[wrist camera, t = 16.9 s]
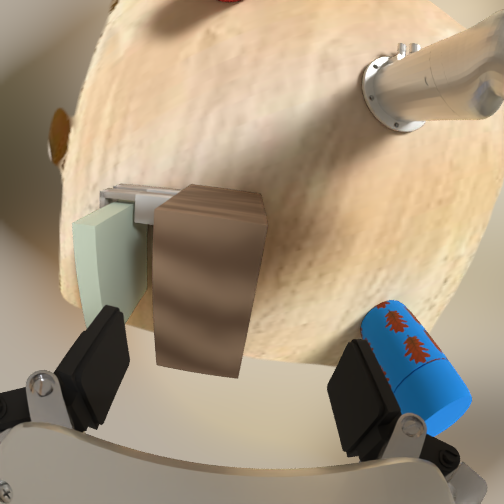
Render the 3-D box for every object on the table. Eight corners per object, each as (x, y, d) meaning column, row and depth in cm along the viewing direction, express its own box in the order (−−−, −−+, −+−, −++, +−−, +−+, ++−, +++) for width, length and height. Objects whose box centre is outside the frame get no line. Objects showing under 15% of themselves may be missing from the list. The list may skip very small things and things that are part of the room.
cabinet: (122, 177, 37) (59, 199, 22) (260, 194, 38) (268, 225, 23) (122, 287, 43) (80, 344, 29) (241, 307, 45) (237, 378, 30)
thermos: (356, 311, 46) (413, 422, 22) (406, 291, 44) (481, 382, 21) (362, 350, 49) (405, 451, 26) (407, 332, 48) (463, 420, 25)
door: (125, 193, 38) (65, 222, 23) (149, 195, 38) (95, 226, 23) (126, 284, 43) (84, 341, 28) (147, 288, 44) (109, 349, 29)
